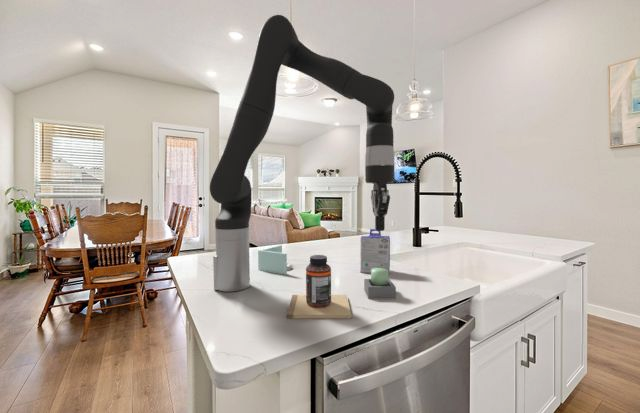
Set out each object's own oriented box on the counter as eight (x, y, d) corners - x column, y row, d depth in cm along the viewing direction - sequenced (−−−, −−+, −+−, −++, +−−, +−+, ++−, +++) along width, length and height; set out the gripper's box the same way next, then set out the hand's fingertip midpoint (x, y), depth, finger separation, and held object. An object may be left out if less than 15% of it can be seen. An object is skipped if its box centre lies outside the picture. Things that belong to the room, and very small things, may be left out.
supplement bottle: (305, 299, 71) (305, 253, 71) (329, 298, 72) (329, 253, 71) (306, 308, 65) (306, 259, 65) (332, 307, 66) (332, 258, 65)
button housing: (368, 298, 74) (368, 287, 74) (364, 289, 81) (364, 278, 81) (395, 298, 74) (395, 287, 73) (389, 289, 81) (389, 278, 80)
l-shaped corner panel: (285, 276, 96) (284, 254, 95) (258, 271, 102) (258, 250, 102) (305, 268, 106) (305, 248, 106) (280, 264, 112) (279, 245, 112)
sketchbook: (286, 318, 62) (286, 314, 62) (292, 298, 74) (292, 294, 74) (351, 318, 62) (351, 314, 62) (346, 297, 74) (346, 294, 74)
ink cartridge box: (389, 270, 101) (389, 229, 100) (390, 274, 95) (390, 231, 95) (361, 268, 103) (361, 228, 102) (360, 273, 97) (360, 230, 97)
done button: (372, 285, 75) (372, 272, 75) (369, 280, 79) (369, 267, 79) (389, 285, 75) (389, 272, 75) (385, 280, 79) (385, 267, 79)
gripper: (361, 167, 82) (362, 227, 83) (369, 162, 69) (369, 234, 70) (388, 166, 82) (388, 227, 83) (401, 161, 69) (400, 233, 70)
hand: (379, 230), depth 76 cm, fingers closed
